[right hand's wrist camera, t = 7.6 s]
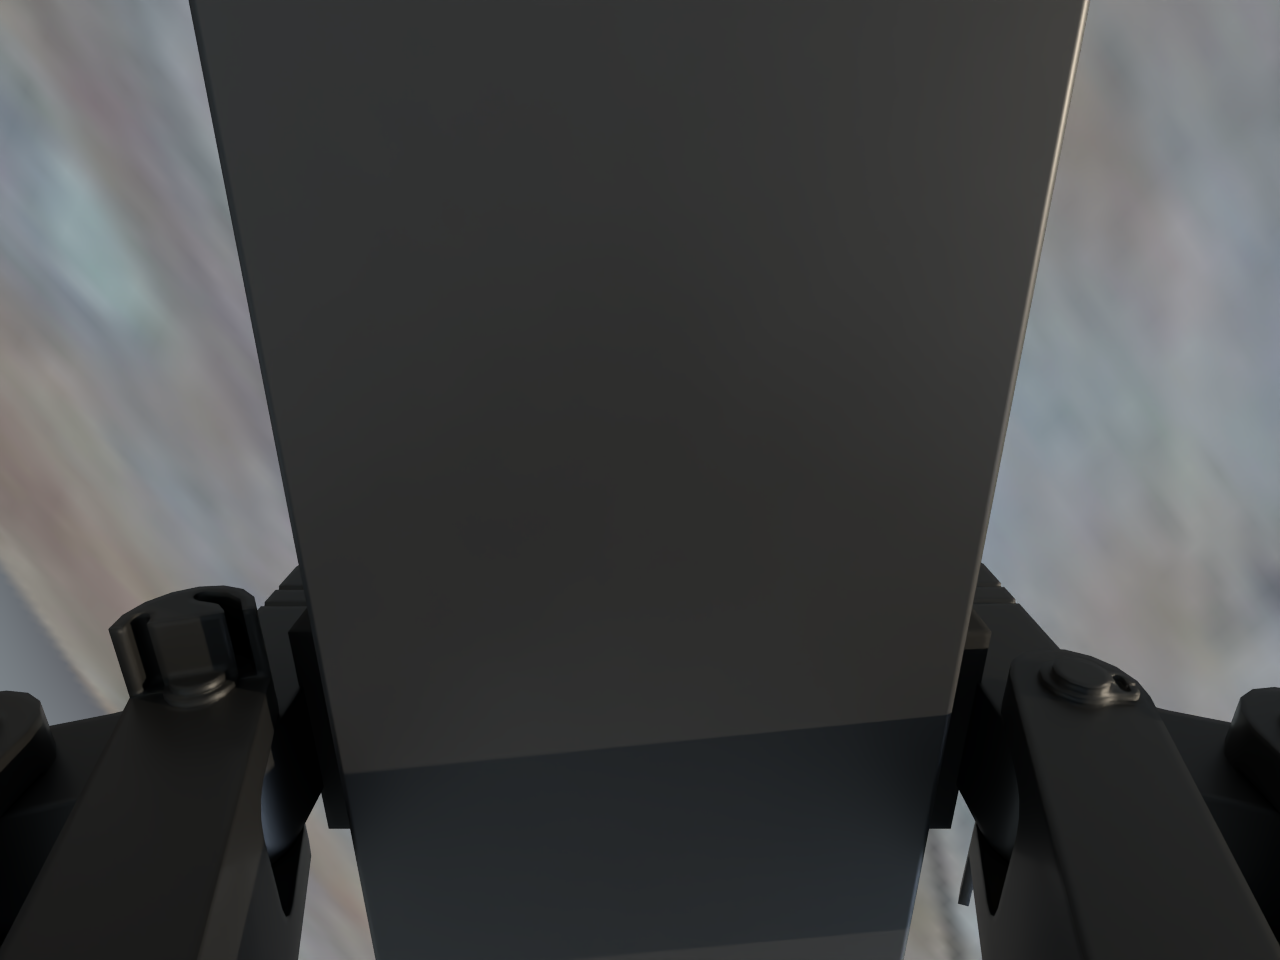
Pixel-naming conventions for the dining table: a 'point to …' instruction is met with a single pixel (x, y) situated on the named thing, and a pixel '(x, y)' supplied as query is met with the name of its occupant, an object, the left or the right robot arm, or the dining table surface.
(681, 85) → the bar
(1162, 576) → the dining table surface
